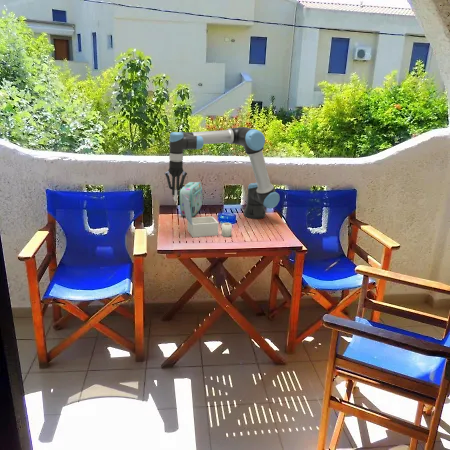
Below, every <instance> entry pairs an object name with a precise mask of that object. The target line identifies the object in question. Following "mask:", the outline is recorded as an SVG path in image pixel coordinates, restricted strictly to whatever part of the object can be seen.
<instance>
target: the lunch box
mask: <svg viewBox="0 0 450 450" xmlns="http://www.w3.org/2000/svg"><path fill="white" fill-rule="evenodd" d="M182 194H184V195H185V196H186V197H187V198H188V199H189V204H190V211H191V217H192V218H194V217H195V216H196V215H197V214H198V213H199V211H200V210H201V208H202V206H203V205H202V204H203V185H202V182H201V181H197V182H196V181H195V182H194V181H189V182H188V183H186V184H184V185H183V187H182V189H180V190H179V210H180V211H179V212H180V215H181V216H182V217H186V215H185V209H184V203H183V197H182Z"/></svg>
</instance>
